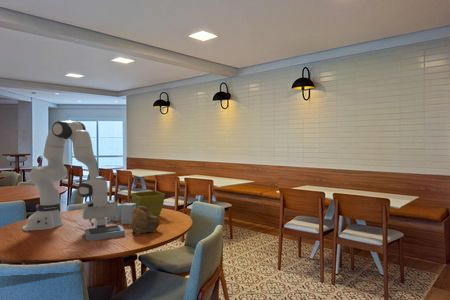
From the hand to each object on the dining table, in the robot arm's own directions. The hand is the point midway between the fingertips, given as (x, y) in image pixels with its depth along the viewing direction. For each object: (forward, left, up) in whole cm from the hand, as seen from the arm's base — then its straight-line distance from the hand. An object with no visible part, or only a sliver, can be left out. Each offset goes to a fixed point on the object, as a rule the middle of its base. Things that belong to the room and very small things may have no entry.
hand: (100, 224), depth 201 cm
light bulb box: (+13, +21, -3) cm, 25 cm away
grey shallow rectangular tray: (0, -15, -3) cm, 15 cm away
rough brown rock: (+23, -19, -3) cm, 30 cm away
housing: (0, 0, -3) cm, 3 cm away
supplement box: (+19, +7, -3) cm, 21 cm away
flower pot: (+35, +18, -3) cm, 40 cm away
